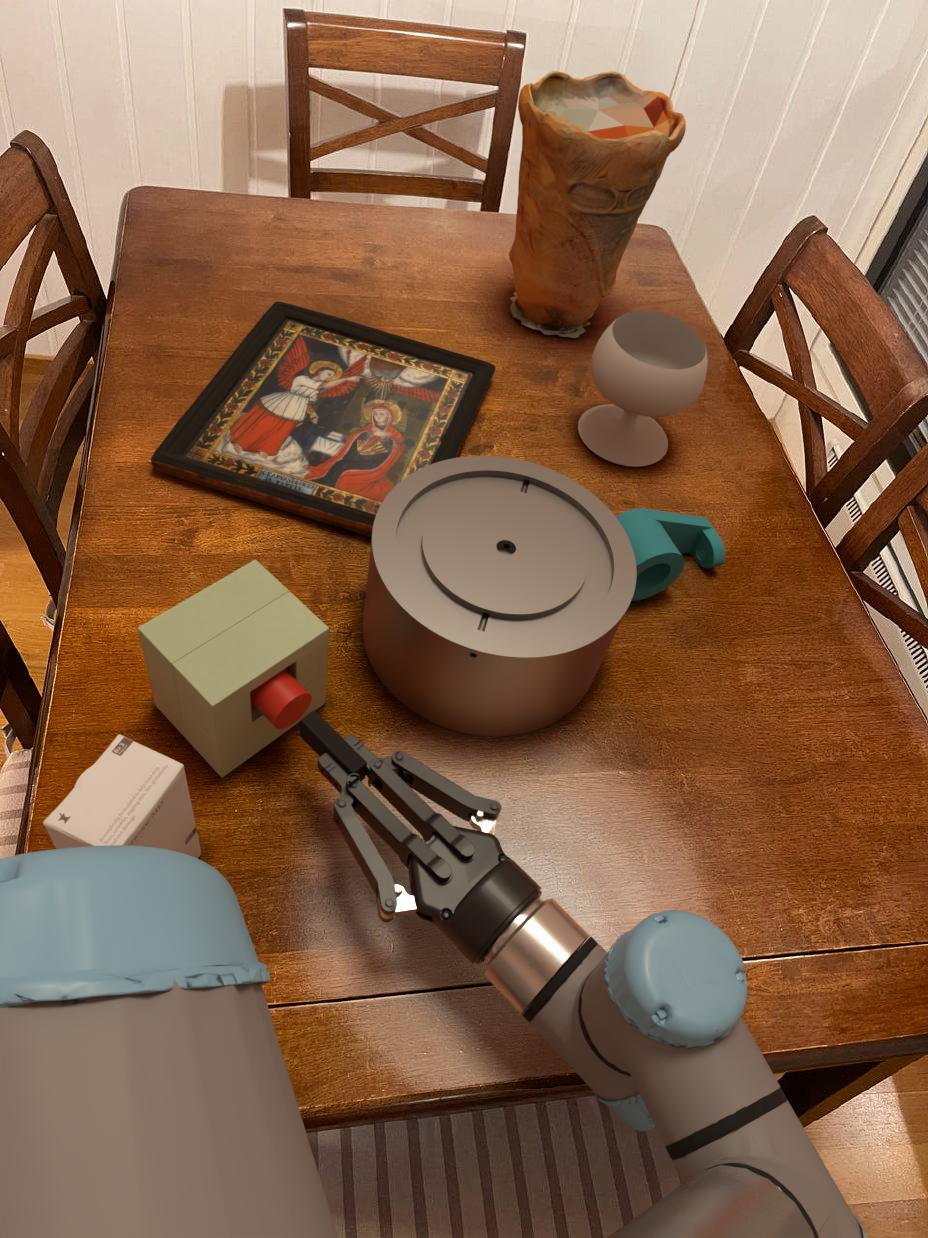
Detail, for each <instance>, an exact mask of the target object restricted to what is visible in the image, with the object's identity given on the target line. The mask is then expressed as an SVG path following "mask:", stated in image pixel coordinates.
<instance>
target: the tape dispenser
mask: <svg viewBox="0 0 928 1238" xmlns="http://www.w3.org/2000/svg"><path fill="white" fill-rule="evenodd" d="M615 517H616V518H617V519H618V521H619V522H620V524H621V525H622V527H623V528H624V530H625V532H626V534H627V536H628V538H629V540H630V543H631V545H632V548H633V551H634V555H635V560H636V569H637V577H636V586H635V591H634V594H633V597H632V600H631V602H632V601H633V602H634V601H635V602H636V601H641V600H645V599H648V598H651V597H653V596H655V595H658V594H659V593H661V592H662V591H664V590H665V589H667V588H668V587H670V586H671V585H672V584H673V583H674V582H675V581H676V580H677V579H678V578H679V577H680V575H681V573H682V572H683V570H684V567H685V558H684V556H683V555H684V554H689V553H690V554H691V555H692V557H693V559H694V560H695V562H696V563H697V564H698V565H699V566H700V567H702V568H703V569H710V568H711V569H712V568H715V567H720V566H722V565H724V564H725V562H726V548H725V544H724V541H723V540H722V538H721V536H720V535H719V533H718V532H717V531H716V529H715V528H714V526H713V525H712V523H711V522H710V521H709V519H708V517H706V516H699V515H693V514H685V513H679V512H673V511H672V512H671V511H664V510H657V509H651V508H641V507H638V508H632V509H629V510H625V511H624V512H622V513H619V514H617V515H615Z"/></svg>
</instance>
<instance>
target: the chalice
mask: <svg viewBox="0 0 928 1238" xmlns="http://www.w3.org/2000/svg"><path fill="white" fill-rule="evenodd" d="M708 364H709V361H708V352H707V345H706V343H705V341H704V340H703V338H702V337H701V335H700V334H699V332H697V331H696V330H695V328H692V327H691V325H689V324H688V323H685V322H684V321H682V320H680V319H678V318H676V317H674V316H672V315H668V314H665V313H662V312H657V311H652V310H637V311H635V310H634V311H630V312H627V313H624V314H622V315H620V316H619V317H617V318H616V319H614V320H613V321H612V322H611V323H610V324H609V325H608V326H607V327H606V328H605V330H604V331H603V333H602V334H601V336H600V337H599V339H598V340H597V343H596V344H595V346H594V349H593V352H592V355H591V359H590V371H591V375H592V380H593V381H594V384H595V385H596V387H597V389H598V390H599V392H600V393H601V394H602V395H603V397H604V398H606V400H608V401H609V402H611V403H608V404H600V405H596V406H593V407H590V408H589V409H586V410H585V411H584V412H583V413H582V414H581V415H580V417H579V419H578V421H577V430H578V431H577V432H578V435H579V437H580V438H581V441H582V442H583V443H584V445H585V446H586V447H587V448H588V449H589V450H590V451H592V453H594V454H595V455H597V456H598V457H600V458H601V459H604V460H605V461H608V462H611V463H614V464H616V465H621V466H625V467H635V468H637V467H646V466H650V465H653V464H655V463H657V462H659V461H660V460H662V459H663V458H664V457H665V455H666V454H667V452H668V449H669V439H668V436H667V434H666V432H665V431H664V428H663V427H662V426H661V425H660V424H659V422H657V421H656V419H654V418H662V417H669V416H674V415H677V414H679V413H681V412H683V411H685V410H686V409H688V408H690V407H691V406H692V405H693V404H694V403H695V402H696V401H697V400H698V398H699V397H700V395H701V393H702V392H703V389H704V386H705V381H706V377H707V374H708V373H707V372H708Z"/></svg>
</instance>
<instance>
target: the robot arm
mask: <svg viewBox="0 0 928 1238" xmlns="http://www.w3.org/2000/svg"><path fill="white" fill-rule="evenodd" d="M299 727H300V728H299V733H300V734H299V737H300V738H301V739H302V740H303V741H304V742H305V743H306V744H307V745H308V747H310V748H311V750H313V752H315V753H316V755H318V758H317V769H318V771H319V773H320V774H321V775H322V776H323V777H324V778H325V779H326V780H327V781H328V782H329V784H331V785H332V787H334V789H335V790H337V792H338V793H339V795H338V797H336V799H335V800H334V802H333V812H332V819H333V823H334V824H335V825H336V827H337V829H338V831H339V833H340V834H341V837H342V838H343V840H344V841H345V843H346V844H347V847H348V848H349V851H350V852H351V854H352V856H353V858H354V859H355V861H356V863H357V864H358V867H359V868H360V870H361V871H362V873H363V876H364V877H365V879H366V880H367V882H368V884H369V886H370V888H371V890H372V891H373V893H374V894H375V901H376V907H377V913H378V918H379V920H380V921H381V922H383V923H386V924H388V923H391V922H393V920H394V919H395V917H399V916H405V915H411V914H415V915H416V916H417V917H418V918H420V919H421V920H424V921H427V922H430V923H432V924H434V925H435V926H436V927H437V928H438V929H439V930H440V931H441V932H442V934H443V935H444V936H445V937H446V938H447V939H448V940H449V941H450V942H451V943H452V944H453V945H454V946H455V947H456V948H457V950H459V951H460V952H461V954H463V956H465V958H466V959H467V960H468V961H469V962H470V964H476V965H480V964H481V963H483V964H484V965H485V967H484V969H483V976H484V977H485V978H486V979H487V981H489V982H490V983H491V984H492V986H493V987H494V988H495V989H496V990H497V991H498V992H499V993H500V994H501V995H502V996H503V997H504V999H506V1000H507V1002H508V1003H509V1004H511V1006H512V1007H513V1008H514V1009H515V1010H516V1011H517V1012H518V1013H519V1014H520V1015H521V1016H522V1017H523V1018H524V1020H526V1021H527V1022H528V1023H529V1024H530V1025H531V1026H532V1027H533V1028H534V1029H535V1031H537V1033H538V1034H539V1035H540V1036H541V1037H542V1038H543V1039H544V1040H545V1041H546V1042H547V1044H549V1046H551V1048H553V1050H554V1051H555V1052H556V1053H557V1054H558V1055H559V1056H560V1057H561V1058H562V1059H563V1060H564V1061H565V1062H566V1064H567V1065H568V1066H569V1067H570V1068H571V1069H572V1070H573V1071H574V1072H575V1073H576V1074H577V1075H578V1076H579V1077H580V1078H581V1080H582V1081H583V1082H584V1083H585V1084H586V1085H587V1086H588V1088H590V1089H591V1091H592V1093H593V1095H594V1096H595V1097H596V1099H597V1100H598V1101H599V1102H600V1103H602V1104H604V1105H605V1106H607V1108H609V1109H610V1110H611V1111H612V1112H613V1113H614V1114H616V1115H617V1116H618V1117H619V1118H620V1119H621V1120H622V1121H623V1122H624V1123H625V1124H627V1126H629V1127H630V1128H632V1129H633V1130H636V1131H639V1132H646V1131H650V1130H653V1128H655V1129H656V1130H657V1133H658V1134H659V1137H660V1139H661V1141H662V1143H663V1145H664V1148H665V1149H666V1151H667V1153H668V1156H669V1158H670V1159H671V1163H672V1165H673V1166H674V1168H675V1171H676V1173H677V1176H678V1178H679V1179H680V1182H681V1183H682V1184H680V1185H679V1186H677V1187H676V1188H674V1189H673V1190H671V1191H670V1192H669V1193H668V1194H666V1195H665V1196H663V1197H662V1198H661V1199H659V1200H657V1202H655V1203H654V1204H652V1205H651V1206H649V1207H648V1208H647V1209H645V1210H643V1212H641V1213H639V1215H637V1216H635V1217H634V1218H633V1219H631V1220H630V1221H629V1222H627V1223H626V1224H624V1225H623V1226H622V1227H620V1228H618V1230H616V1231H615V1232H613V1233H612V1234H610V1235H609V1236H607V1237H606V1238H868V1235H867V1232H866V1230H865V1228H864V1226H863V1225H862V1224H861V1221H859V1219H858V1217H857V1216H856V1215H855V1214H854V1213H853V1211H852V1210H851V1208H850V1205H848V1202H847V1201H846V1200H845V1198H844V1196H843V1194H842V1191H840V1189H839V1187H838V1185H837V1184H836V1181H835V1180H834V1178H833V1176H832V1175H831V1173H830V1171H829V1169H828V1168H827V1166H826V1164H825V1162H824V1161H823V1159H822V1157H821V1155H820V1154H819V1152H818V1151H817V1149H816V1147H815V1145H814V1144H813V1142H812V1140H811V1138H810V1136H809V1135H808V1133H807V1131H806V1129H805V1128H804V1126H803V1124H802V1123H801V1121H800V1119H799V1117H798V1115H797V1114H796V1112H795V1110H794V1109H793V1106H792V1105H791V1103H790V1102H789V1100H788V1099H787V1095H785V1093H784V1091H783V1089H782V1087H781V1085H780V1084H779V1082H778V1080H777V1077H776V1076H775V1074H774V1072H773V1070H772V1069H771V1067H770V1065H769V1064H768V1062H767V1060H766V1058H765V1056H764V1054H763V1053H762V1051H761V1049H760V1048H759V1045H758V1044H757V1041H756V1040H755V1038H754V1036H753V1035H752V1033H751V1031H750V1030H749V1028H748V1025H747V1024H746V1022H745V1021H744V1018H743V1017H742V1014H743V1012H744V1010H745V1007H746V1004H747V1001H748V993H749V991H748V979H747V975H746V968H745V963H744V960H743V957H742V956H741V953H740V952H739V950H738V948H737V946H736V945H735V944H734V942H733V940H731V938H730V937H729V936H728V935H727V933H725V932H724V931H723V930H722V929H721V928H720V927H718V926H717V924H715V923H713V922H712V921H710V920H709V919H707V918H705V917H703V916H701V915H699V914H696V913H693V912H690V911H685V910H678V909H677V910H676V909H673V910H664V911H659V912H656V913H650V915H648V916H646V917H644V918H643V919H642V920H641V921H639V922H638V923H637V924H636V925H635V926H633V928H631V929H630V930H628V931H626V932H624V933H622V934H620V935H619V936H618V937H617V938H616V941H615V942H614V943H612V944H611V946H610V948H609V950H608V951H607V950H606V949H605V948H603V946H602V945H600V943H598V941H596V940H595V938H594V937H593V936H591V935H590V934H589V933H588V932H587V931H586V930H585V929H584V928H583V927H582V926H581V925H580V924H579V923H578V922H577V921H576V920H575V919H574V918H573V917H572V916H571V915H570V914H569V913H568V912H567V911H566V910H565V908H563V907H562V906H561V905H560V903H558V901H556V900H555V899H554V898H552V897H551V898H546V899H545V900H543V899H542V898H541V897H542V894H543V891H542V890H541V889H542V886H541V885H540V884H538V883H537V882H536V880H535V879H533V878H532V877H531V876H530V875H529V874H528V873H527V872H526V871H525V870H524V869H523V868H522V867H521V866H520V865H519V864H518V863H517V862H516V861H515V860H514V859H512V858H511V857H509V856H508V855H507V854H506V853H505V852H504V850H503V847H502V845H501V841H500V840H499V838H498V837H497V836H496V835H495V830H496V826H497V821H498V818H499V817H500V814H501V811H502V805H501V803H500V802H499V801H498V800H495V799H491V798H487V797H483V796H478V795H475V794H473V793H472V792H470V791H468V790H467V789H465V788H463V787H462V786H460V785H459V784H457V783H455V782H454V781H452V780H450V779H448V778H447V777H445V776H443V775H442V774H440V773H439V772H437V771H435V770H434V769H432V768H431V767H429V766H428V765H426V764H424V763H422V762H420V761H419V760H417V759H416V758H414V757H412V756H411V755H409V754H408V753H406V752H404V751H403V750H397V751H394V752H393V753H392V755H390V756H387V757H379V756H376V755H375V754H374V752H372V751H371V750H370V749H369V748H368V746H366V745H365V744H364V743H363V742H362V741H361V740H360V739H359V738H358V737H357V736H355V735H353V734H351V733H349V734H348V735H346V736H345V737H344V738H343V737H342V736H341V735H340V734H339V732H337V731H336V729H334V728H333V727H332V726H331V725H330V723H328V722H327V721H326V719H324V718H323V717H322V716H321V715H320V714H319V713H318V712H317V711H316V710H314V711H312V712H311V713H309V714H308V715H307V716H305V717H304V718H302V719H301V720H300V722H299ZM366 777H367V778H368V779H367V785H368V786H366V785H365V784H364V783H363V782H362V781H364V780H365V779H366ZM371 786H372V787H373V788H374V789H376V791H377V792H378V793H379V794H380V795H381V796H382V797H383V798H384V799H385V800H386V801H387V802H388V803H389V804H390V805H391V806H392V807H393V808H394V809H395V810H396V811H397V812H398V813H399V814H400V816H402V817H403V818H404V819H405V820H406V821H407V822H408V823H409V824H410V825H411V826H412V827H413V828H414V829H415V830H416V831H417V832H418V833H419V834H420V835H421V837H422V838H421V837H420V836H419V835H418V834H416V833H413V832H412V831H411V830H410V829H409V828H408V827H407V826H406V825H405V824H404V823H403V822H402V821H401V820H400V819H399V818H398V817H397V816H396V815H395V814H394V812H392V811H391V810H390V809H389V808H388V807H387V806H386V805H385V804H384V803H383V802H382V801H381V800H380V798H378V797H377V796H376V795H375V794H374V793H373V792H372V791H371V790H370V789H369V788H371ZM368 787H369V788H368ZM418 793H419V794H421V795H422V796H424V797H425V798H427V799H428V800H429V801H431V802H433V803H435V804H437V805H438V806H440V807H441V808H443V809H444V810H446V811H448V812H449V813H451V814H452V815H454V816H456V817H458V818H459V819H461V820H463V821H465V822H468V823H469V825H470V827H471V828H466V827H461V826H457V825H453V824H452V823H451V822H449V820H447V818H446V817H445V816H444V815H443V814H441V813H439V812H436V811H435V810H434V809H433V808H432V807H431V806H430V805H429V804H428V803H427V802H426V801H425V800H424V799H423V798H422V797H421V796H420V795H419V794H418ZM360 818H361V819H362V820H363V821H364V822H365V823H366V825H368V827H370V829H371V830H372V831H374V832H375V833H376V835H377V836H378V837H379V838H380V839H381V840H382V841H383V842H384V843H385V844H386V845H387V846H388V847H389V848H390V849H391V850H392V851H393V852H394V853H395V854H396V855H397V856H398V859H399V860H400V862H401V863H402V865H404V866H405V868H407V869H408V871H407V872H408V877H409V878H408V879H409V887H410V892H411V895H410V894H408V893H407V892H406V889H405V888H404V886H402V885H401V884H398V883H397V884H395V881H394V878H393V876H392V873H391V870H389V867H388V866H387V864H386V862H385V860H384V858H383V857H382V855H381V854H380V852H379V850H378V849H377V847H376V845H375V843H374V842H373V840H372V838H371V836H370V835H369V833H368V831H367V830H366V827H365V826H364V824H363V823H362V820H361V819H360ZM271 980H272V979H271V975H270V970H269V968H268V966H267V965H266V963H263V962H261V961H259V958H258V955H257V952H256V948H255V946H254V944H253V941H252V938H251V935H250V932H249V929H248V926H247V924H246V920H245V918H244V915H243V912H242V909H241V907H240V904H239V900H238V898H237V895H236V893H235V891H234V889H233V887H232V885H231V884H230V882H229V880H227V878H225V876H223V874H222V873H221V872H219V870H218V869H216V868H215V867H214V866H212V865H210V864H209V863H207V862H206V861H204V860H202V859H199V858H198V859H197V858H195V857H193V856H190V855H187V854H184V853H180V852H176V851H171V850H167V849H161V848H154V847H143V846H128V845H111V846H84V847H70V848H61V849H56V848H53V849H46V850H45V849H44V850H38V851H37V850H36V851H32V852H26V853H25V852H24V853H20V854H16V855H11V856H7V857H3V858H0V1238H339V1235H338V1232H337V1230H336V1226H335V1223H334V1219H333V1216H332V1213H331V1210H330V1207H329V1203H328V1200H327V1197H326V1193H325V1190H324V1187H323V1183H322V1180H321V1177H320V1174H319V1169H318V1166H317V1164H316V1160H315V1158H314V1157H315V1156H314V1154H313V1151H312V1147H311V1144H310V1140H309V1137H308V1135H307V1131H306V1128H305V1125H304V1121H303V1118H302V1115H301V1110H300V1108H299V1105H298V1101H297V1098H296V1095H295V1091H294V1088H293V1086H292V1082H291V1078H290V1075H289V1071H288V1068H287V1065H286V1061H285V1059H284V1055H283V1053H282V1049H281V1046H280V1042H279V1039H278V1036H277V1032H276V1029H275V1025H274V1022H273V1019H272V1015H271V1012H270V1009H269V1005H268V1001H267V999H266V995H265V991H264V988H263V985H265V984H267V983H269V982H271Z"/></svg>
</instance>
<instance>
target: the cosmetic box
mask: <svg viewBox="0 0 928 1238" xmlns="http://www.w3.org/2000/svg"><path fill="white" fill-rule="evenodd" d="M193 810H194V809H193V804H192V801H191V795H190V791H189V785H188V779H187V776H186V771H185V765H184V764H183V763H182V762H179V761H177V760H176V759H173V758H171V757H169V756H167V755H164V754H163V753H160V752H158V751H156V750H154V749H152V748H150V747H148V746H145V745H143V744H140V743H139V742H136V741H135V740H132V739H130V738H128V737H126V736H124V735H122V734H117V735H116V737H115V738H114V739H113V740H112V741H111V742H110V744H109V745H108V746H107V748H106V749H105V750H104V751H103V753H102V754H101V755H100V756H99V757H98V759H97V760H96V761H95V762H94V763H93V764H92V765H91V766H90V767H88V768H86V769H85V770H84V771H83V772H82V773H81V774H80V776H79V777H78V778H77V780H76V782H75V784H74V787H73V788H72V789H71V790H70V792H69V793H68V794H67V795H66V797H65V798H63V800H62V801H61V802H60V803H59V804H58V805H57V806H56V807H55V809H53V810H52V811H51V812H50V813H49V814H48V815H47V816H46V818H45V819H44V820H43V822H42V825H43V826H44V828H45V829H46V832H47V833H48V836H49V837H50V840H51V842H52V843H53V846H54V849H61V848H70V847H84V846H111V845H128V846H143V847H154V848H161V849H167V850H171V851H176V852H180V853H184V854H187V855H190V856H193V857H195V858H197V859H199V858H200V856H201V854H202V849H201V845H200V839H199V835H198V830H197V824H196V820H195V816H194V815H195V814H194V811H193Z"/></svg>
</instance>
